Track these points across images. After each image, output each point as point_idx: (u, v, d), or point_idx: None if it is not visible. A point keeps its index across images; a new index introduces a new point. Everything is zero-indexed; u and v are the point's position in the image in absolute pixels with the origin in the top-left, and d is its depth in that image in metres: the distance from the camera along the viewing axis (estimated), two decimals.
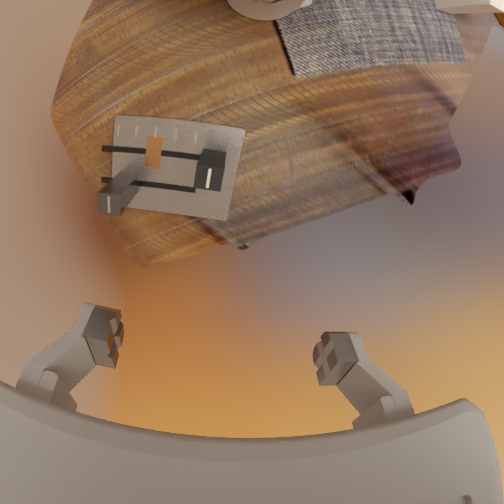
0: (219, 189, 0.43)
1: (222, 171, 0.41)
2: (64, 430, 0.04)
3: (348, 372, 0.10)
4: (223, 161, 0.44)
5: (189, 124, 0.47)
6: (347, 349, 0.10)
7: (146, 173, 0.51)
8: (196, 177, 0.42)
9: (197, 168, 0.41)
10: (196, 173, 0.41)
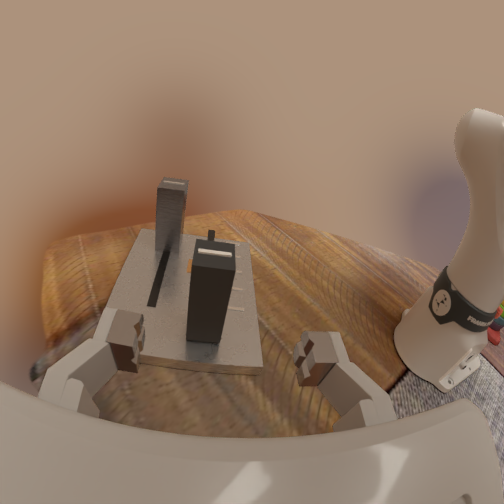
0: (196, 264, 0.24)
1: (229, 268, 0.25)
2: (64, 430, 0.04)
3: (327, 373, 0.09)
4: None
5: (251, 302, 0.38)
6: (327, 349, 0.10)
7: (179, 260, 0.42)
8: (213, 242, 0.28)
9: (228, 244, 0.28)
10: (220, 242, 0.28)
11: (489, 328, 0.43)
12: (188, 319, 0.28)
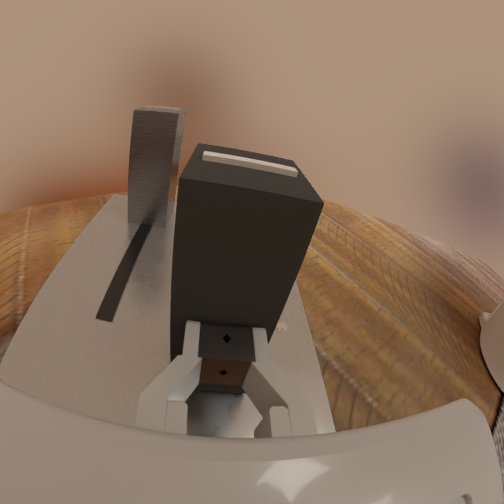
0: (194, 176, 0.07)
1: (303, 196, 0.08)
2: (64, 430, 0.04)
3: (247, 373, 0.09)
4: None
5: (296, 311, 0.20)
6: (244, 346, 0.09)
7: (165, 237, 0.25)
8: (242, 152, 0.11)
9: (279, 159, 0.11)
10: (258, 154, 0.11)
11: None
12: (173, 349, 0.11)
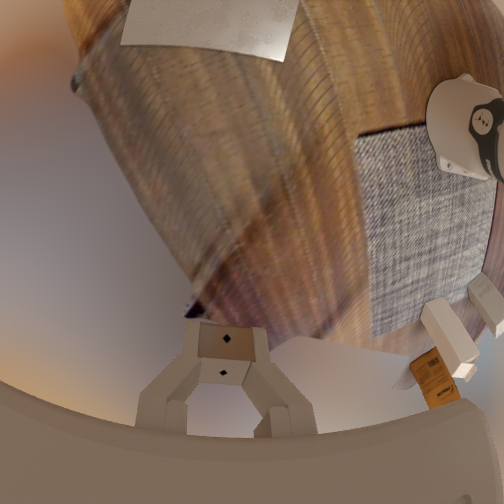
0: None
1: None
2: (64, 430, 0.04)
3: (247, 373, 0.09)
4: None
5: None
6: (244, 346, 0.09)
7: None
8: None
9: None
10: None
11: None
12: None
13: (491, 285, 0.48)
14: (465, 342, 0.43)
